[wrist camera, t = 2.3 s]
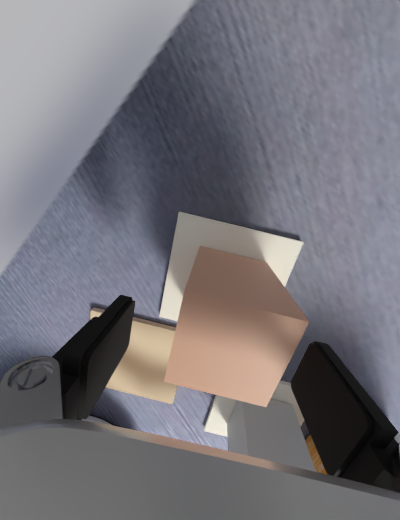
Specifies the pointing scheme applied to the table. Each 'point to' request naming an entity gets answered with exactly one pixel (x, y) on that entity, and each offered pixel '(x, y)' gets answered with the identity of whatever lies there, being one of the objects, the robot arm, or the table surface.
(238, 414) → the grey block
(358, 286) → the table surface
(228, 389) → the terracotta block
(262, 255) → the white square slab
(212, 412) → the tile
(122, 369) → the cork mat
